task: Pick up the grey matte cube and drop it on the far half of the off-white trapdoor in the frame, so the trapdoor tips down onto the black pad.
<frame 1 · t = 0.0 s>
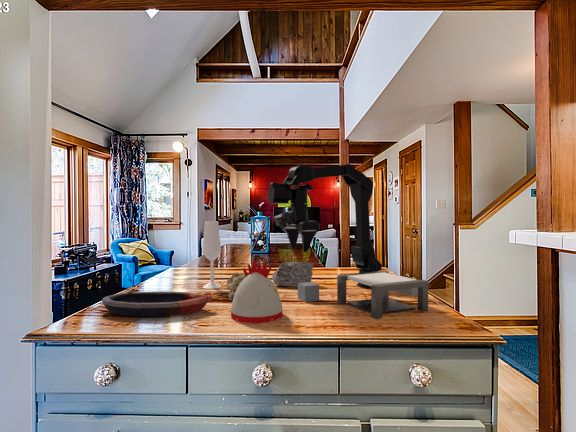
hand: (299, 250, 131), 15 cm above the countertop, fingers open, 9 cm apart
trapdoor: (386, 285, 115), point 6 cm above the countertop, hinge at 0.0°
dish: (157, 312, 111), on the countertop
mineral formation: (245, 297, 128), on the countertop
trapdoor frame: (380, 306, 115), on the countertop
rock: (292, 285, 146), on the countertop
kitchen timer: (256, 316, 106), on the countertop
champagne flute: (212, 287, 143), on the countertop
grey matte cube: (308, 299, 124), on the countertop
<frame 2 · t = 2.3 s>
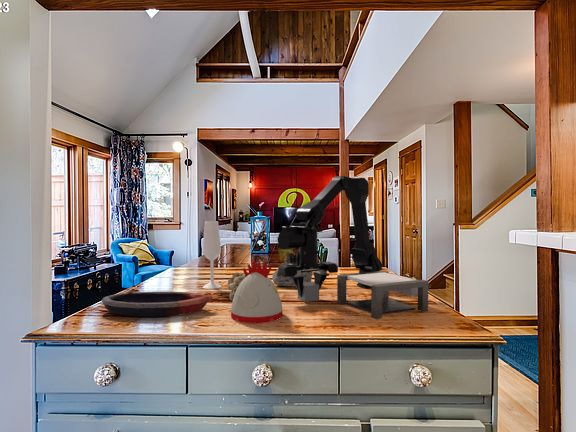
hand: (308, 296, 124), 1 cm above the countertop, fingers closed on grey matte cube, 5 cm apart
grey matte cube: (308, 299, 124), on the countertop, touching gripper
everything else where it was.
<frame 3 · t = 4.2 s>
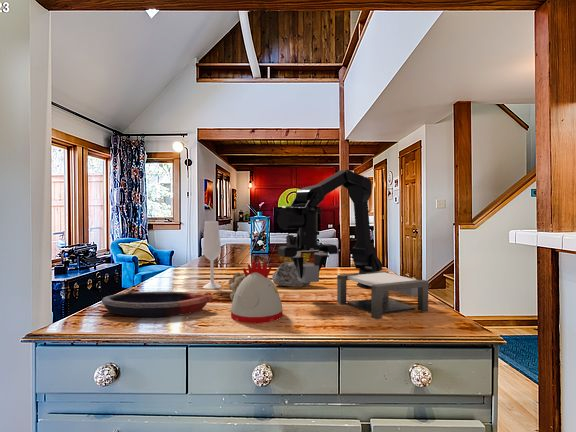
hand: (308, 277, 124), 7 cm above the countertop, fingers closed on grey matte cube, 5 cm apart
grey matte cube: (308, 280, 124), point 6 cm above the countertop, touching gripper
everything else where it was.
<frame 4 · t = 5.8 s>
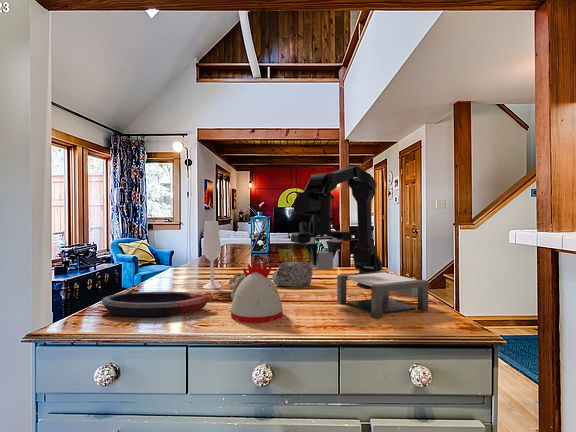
hand: (321, 264, 121), 11 cm above the countertop, fingers closed on grey matte cube, 5 cm apart
grey matte cube: (321, 268, 121), point 10 cm above the countertop, touching gripper
everything else where it was.
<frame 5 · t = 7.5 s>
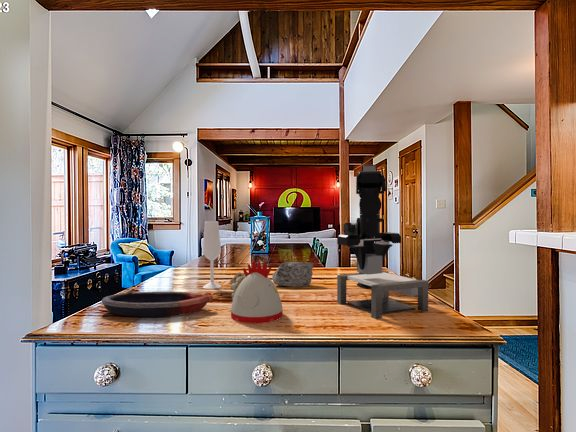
hand: (369, 268, 113), 11 cm above the countertop, fingers closed on grey matte cube, 5 cm apart
grey matte cube: (369, 272, 113), point 10 cm above the countertop, touching gripper
everything else where it was.
when the fingers open (11 cm above the countertop, at t = 8.3 s): grey matte cube drops 4 cm, resting on trapdoor.
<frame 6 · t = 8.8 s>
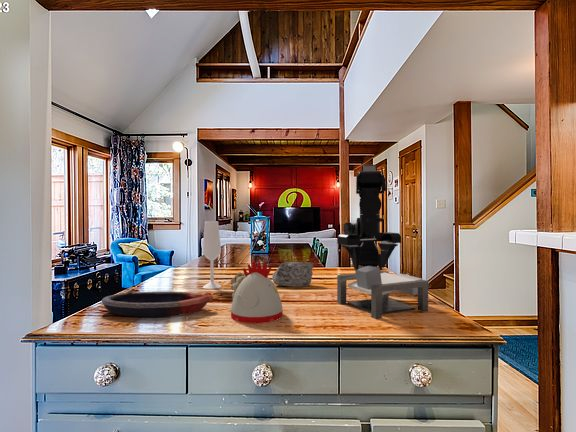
hand: (369, 268, 113), 11 cm above the countertop, fingers open, 9 cm apart
trapdoor: (387, 288, 116), point 5 cm above the countertop, hinge at -10.2°, touching grey matte cube
grey matte cube: (369, 285, 113), point 7 cm above the countertop, tilted 10°, touching trapdoor
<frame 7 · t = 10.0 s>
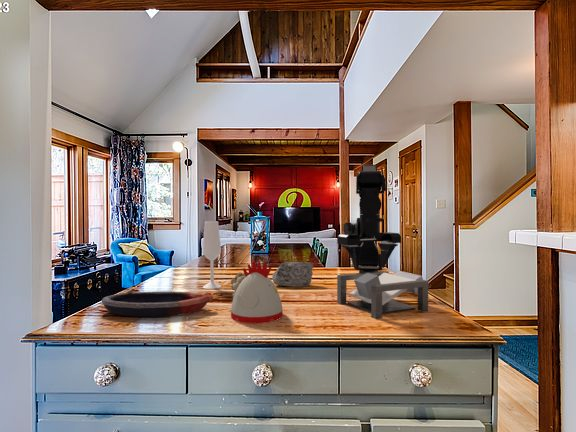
hand: (369, 268, 113), 11 cm above the countertop, fingers open, 9 cm apart
trapdoor: (389, 291, 116), point 4 cm above the countertop, hinge at -22.2°, touching grey matte cube
grey matte cube: (371, 293, 113), point 4 cm above the countertop, tilted 22°, touching trapdoor
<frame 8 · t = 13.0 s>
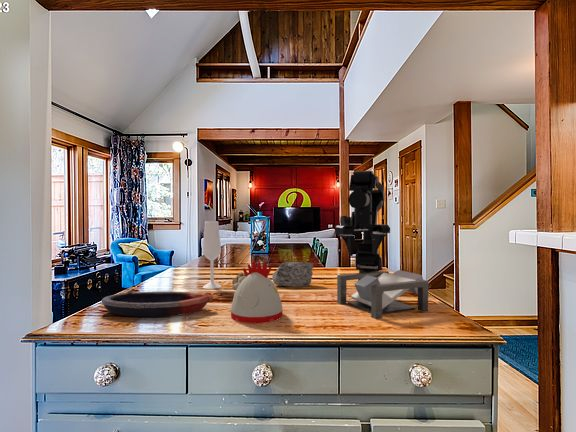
hand: (362, 255, 131), 13 cm above the countertop, fingers open, 9 cm apart
trapdoor: (390, 292, 116), point 4 cm above the countertop, hinge at -26.1°, touching grey matte cube
at the end: grey matte cube point 3.6 cm above the countertop; grey matte cube 7.4 cm from the trapdoor (horizontally); the gripper is holding nothing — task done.
